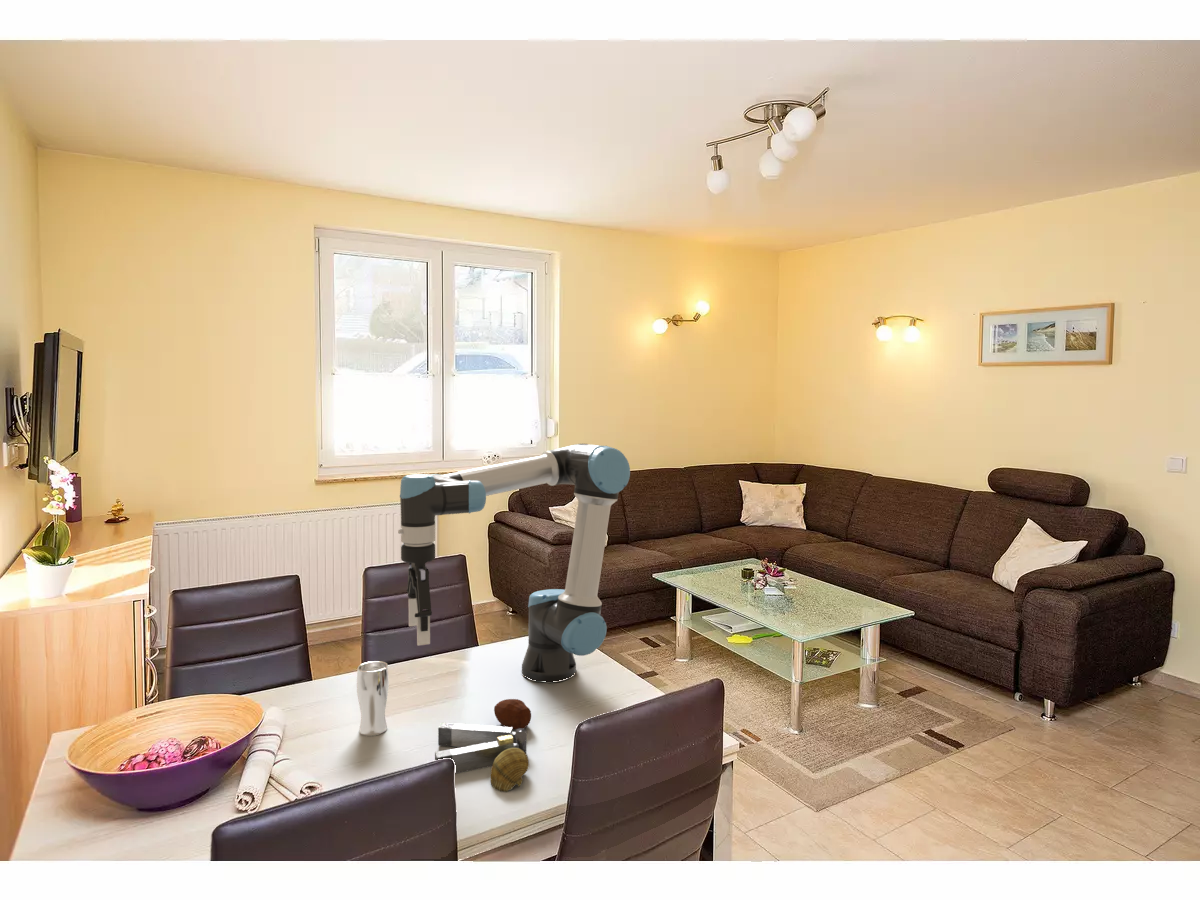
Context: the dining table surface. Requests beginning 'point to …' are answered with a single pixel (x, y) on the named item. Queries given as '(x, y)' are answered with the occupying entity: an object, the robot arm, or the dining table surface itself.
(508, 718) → the potato
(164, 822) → the dining table surface
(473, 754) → the tongs base
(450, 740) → the tong jaw
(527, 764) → the seashell
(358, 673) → the beer glass
